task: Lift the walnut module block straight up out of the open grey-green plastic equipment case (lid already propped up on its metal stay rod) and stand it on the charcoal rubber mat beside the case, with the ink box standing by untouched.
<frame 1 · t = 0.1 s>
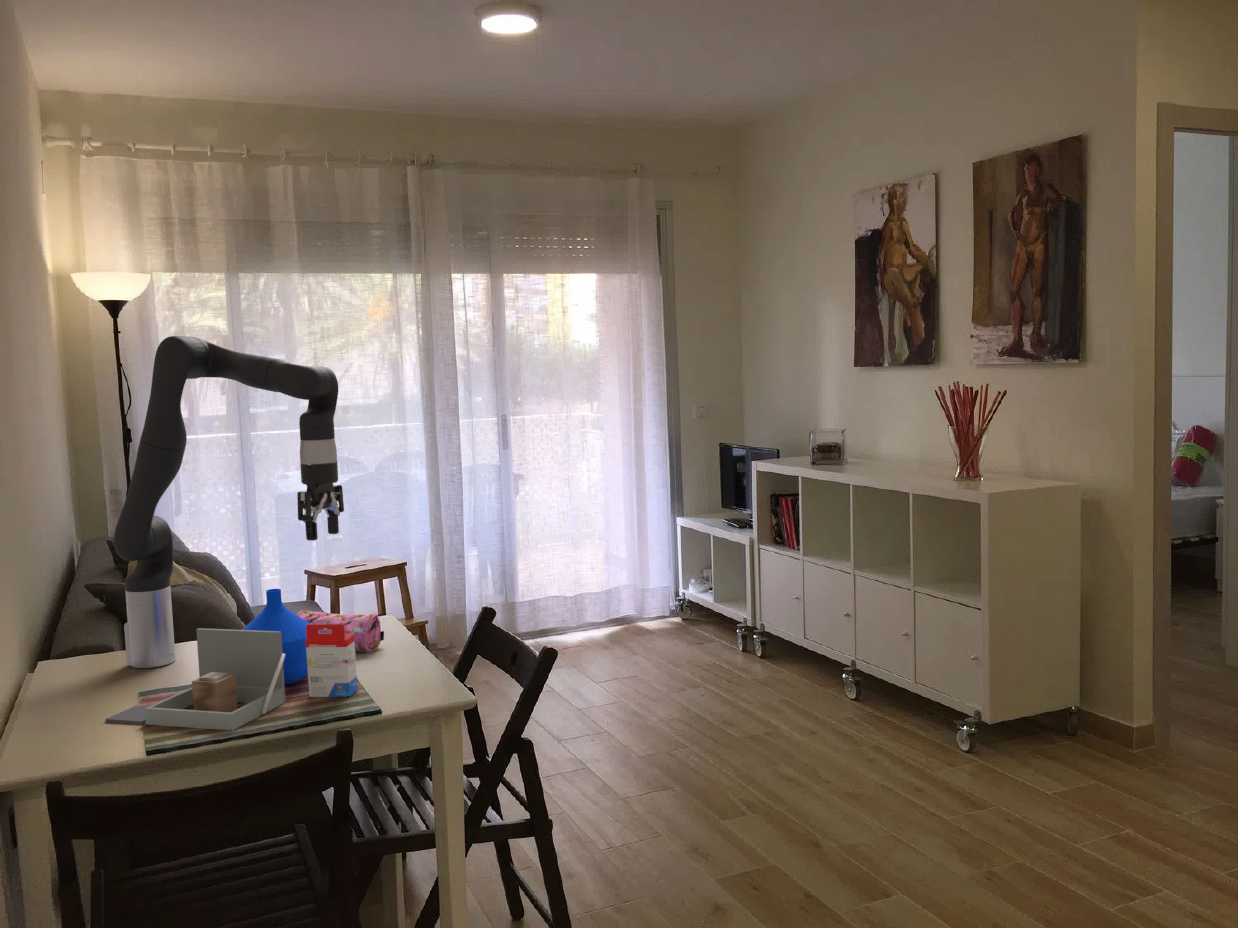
hand: (322, 536, 217), 29 cm above the table, fingers open, 8 cm apart
blue funnel: (279, 680, 215), on the table
module: (216, 713, 194), resting in case
ink box: (333, 694, 204), on the table
pencil case: (337, 650, 239), on the table
mat: (138, 716, 194), on the table
case: (216, 713, 194), on the table
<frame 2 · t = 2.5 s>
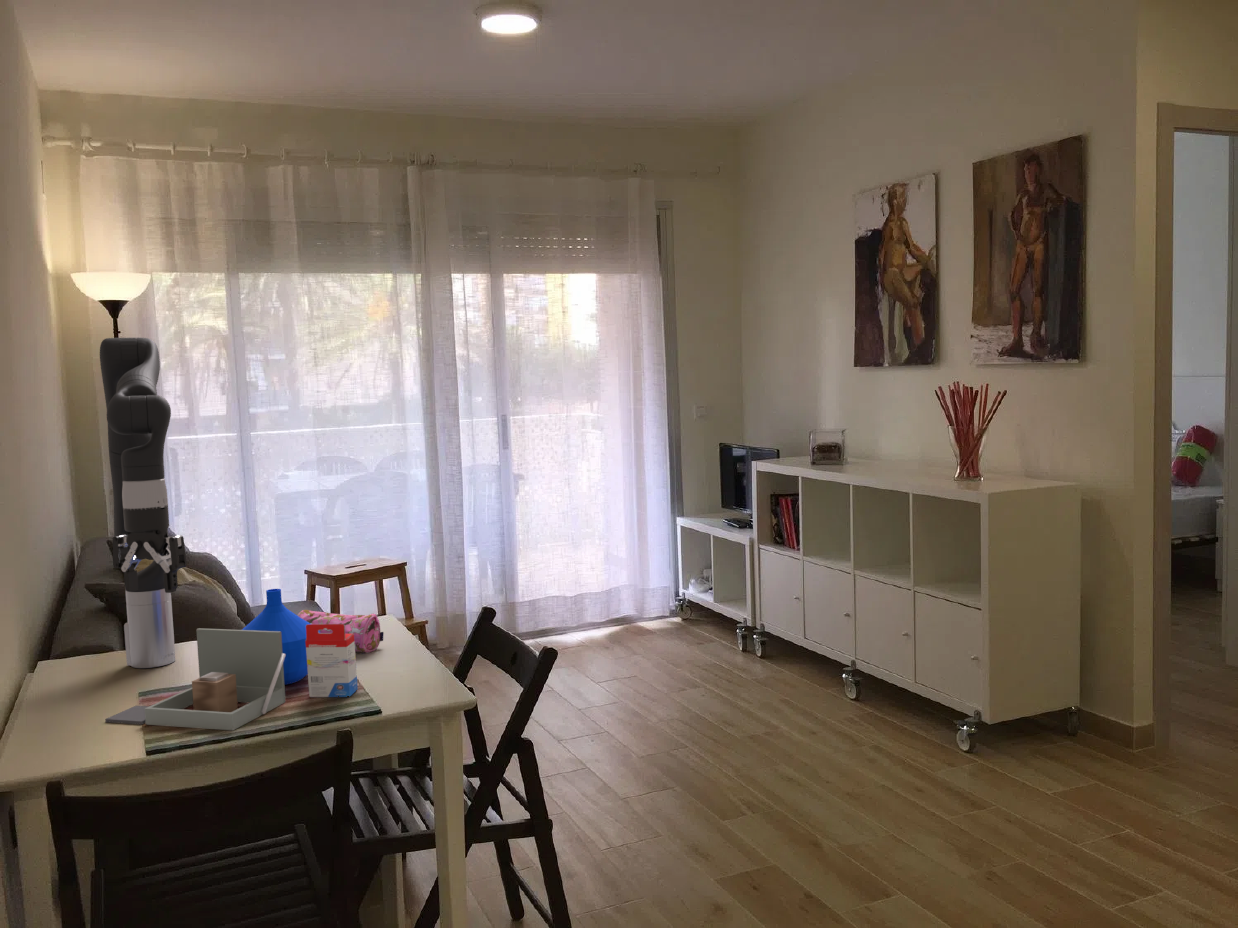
hand: (151, 591, 189), 24 cm above the table, fingers open, 8 cm apart
nothing on the table moved.
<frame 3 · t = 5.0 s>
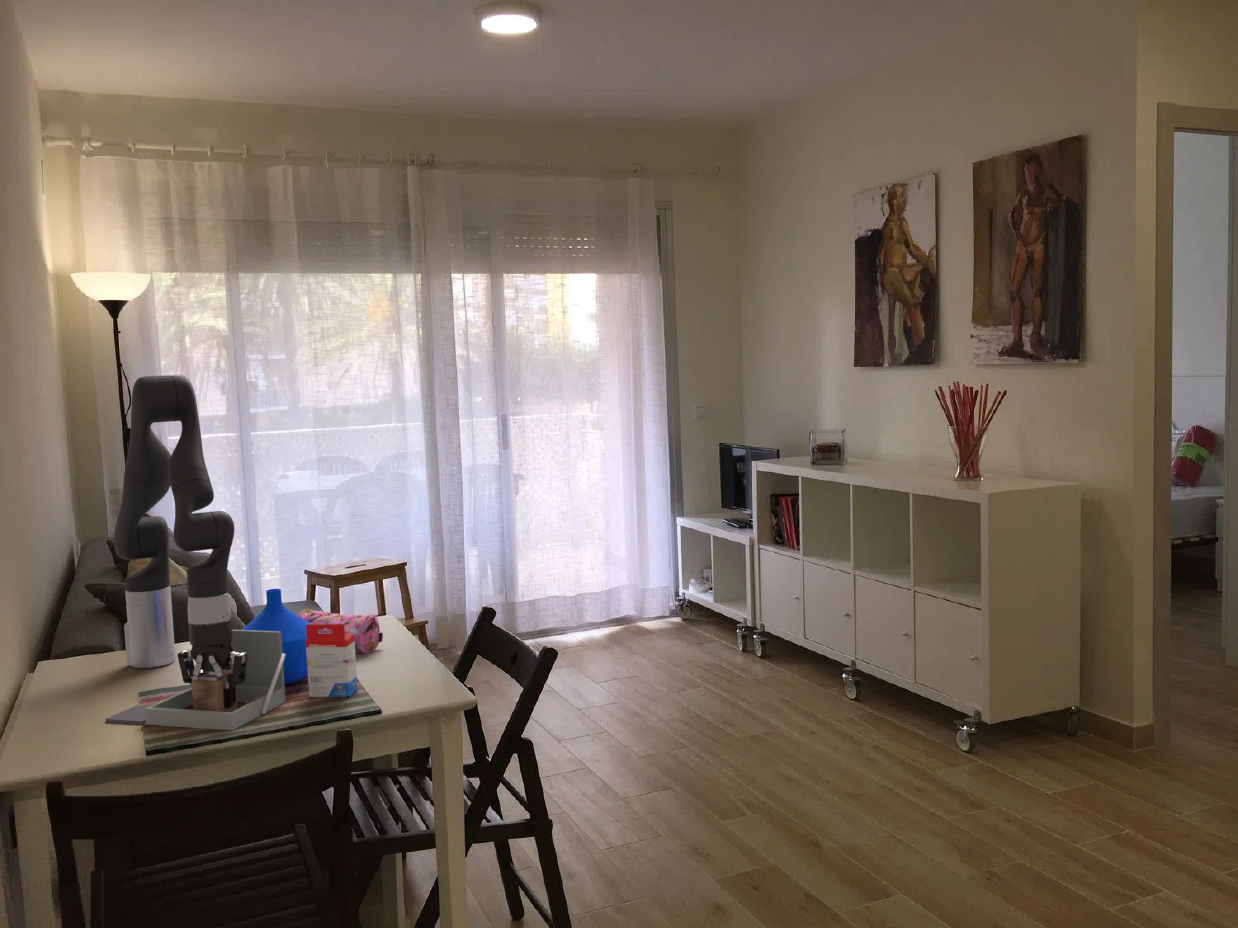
hand: (215, 705, 194), 2 cm above the table, fingers closed on module, 5 cm apart
module: (216, 713, 194), resting in case, touching gripper
everything else where it was.
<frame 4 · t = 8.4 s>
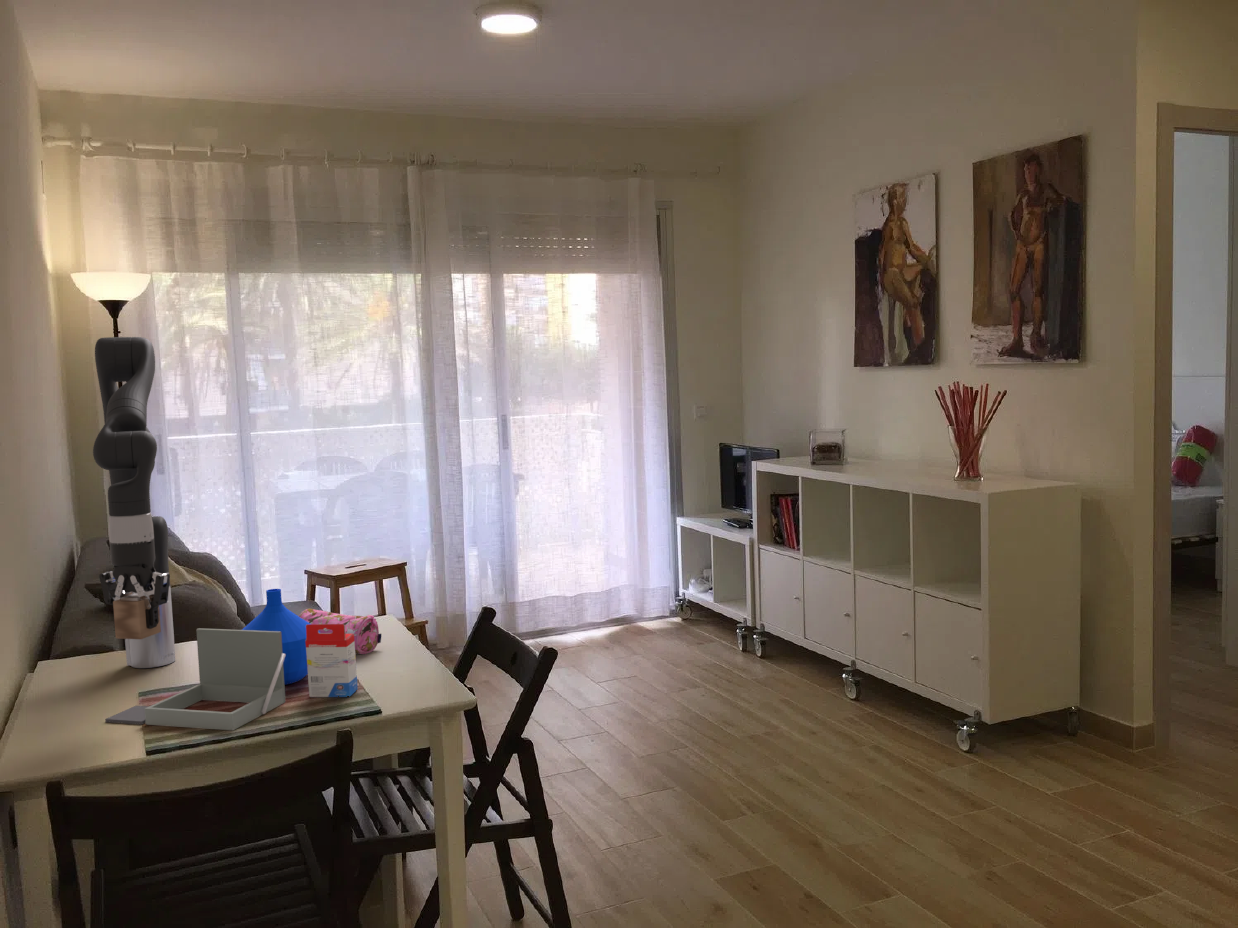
hand: (138, 626, 192), 17 cm above the table, fingers closed on module, 5 cm apart
module: (138, 635, 193), point 16 cm above the table, touching gripper
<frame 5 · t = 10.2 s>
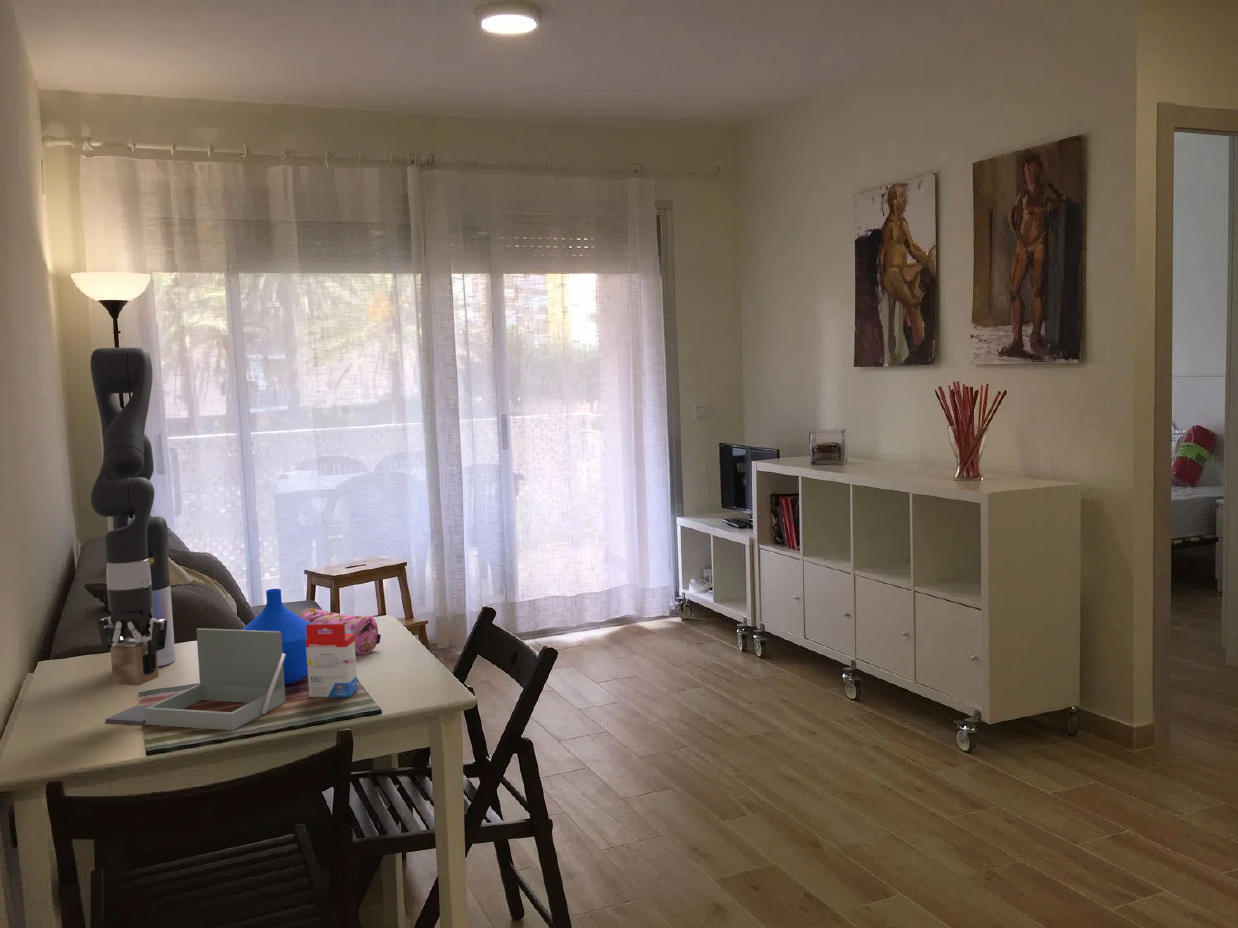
hand: (135, 672, 193), 8 cm above the table, fingers closed on module, 5 cm apart
module: (136, 680, 193), point 7 cm above the table, touching gripper
when the fingers open (3 cm above the table, at t = 11.7 s): module drops 1 cm, resting on mat.
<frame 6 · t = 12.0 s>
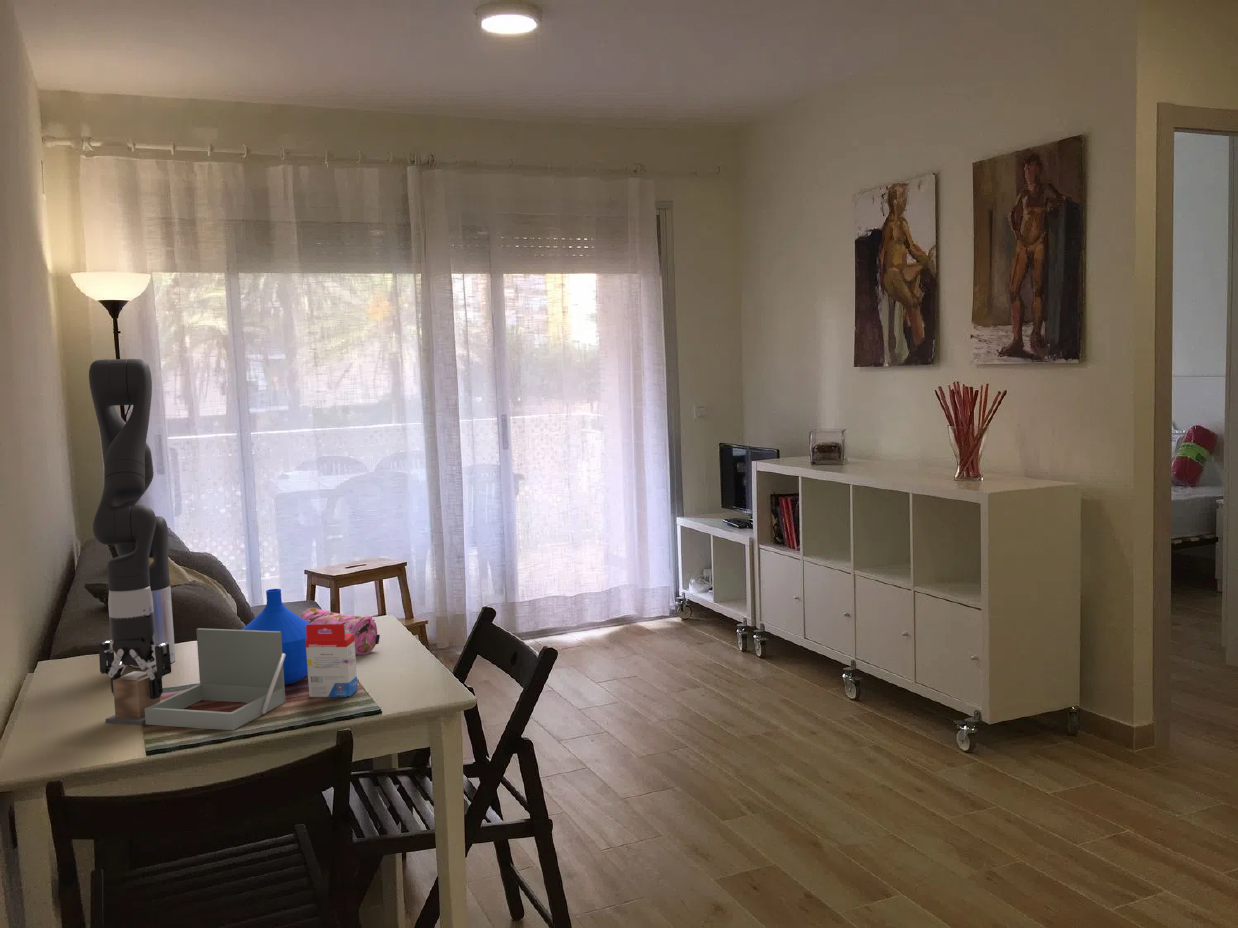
hand: (137, 696, 193), 4 cm above the table, fingers open, 8 cm apart
module: (138, 713, 194), point 1 cm above the table, touching mat
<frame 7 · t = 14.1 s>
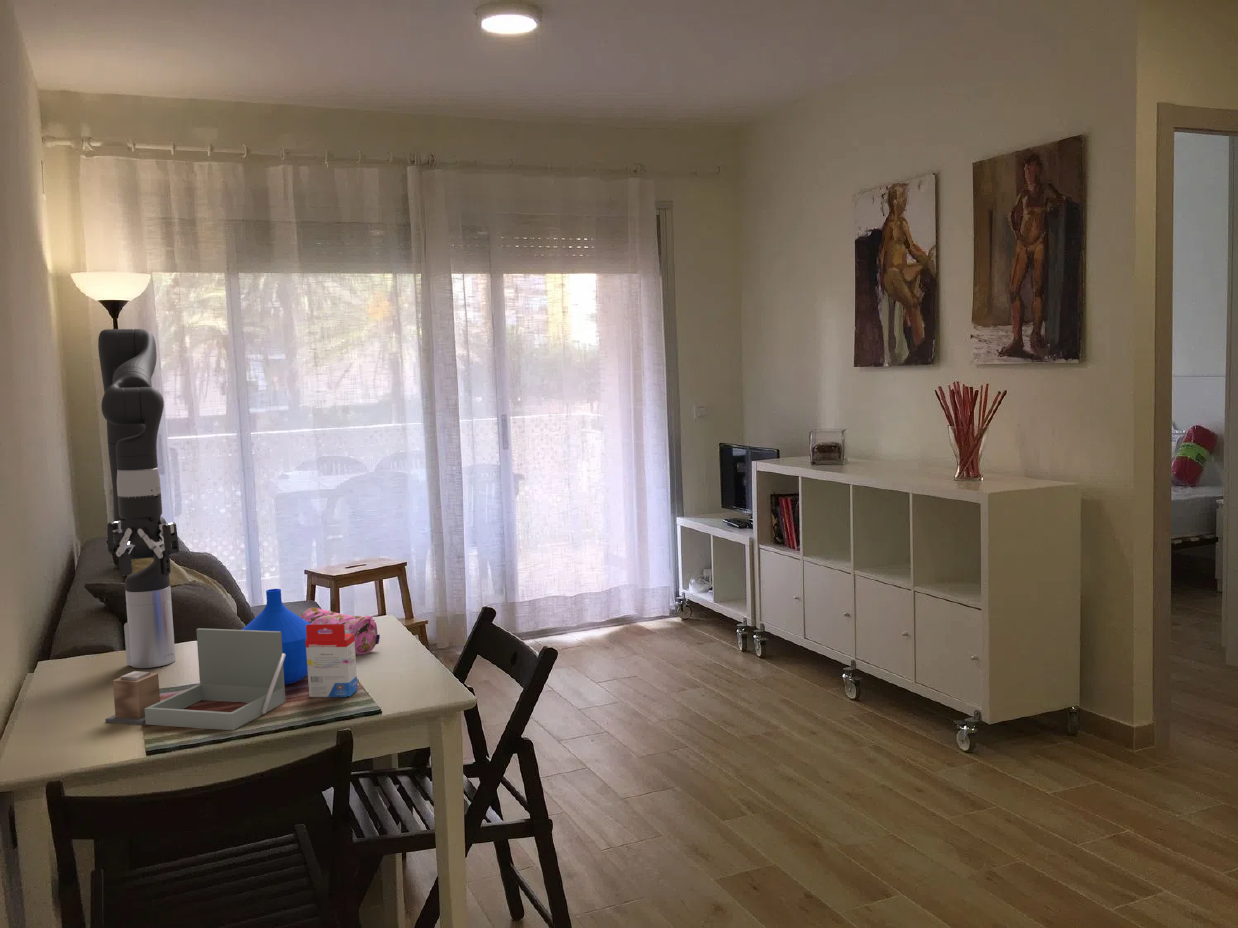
hand: (145, 575, 197), 26 cm above the table, fingers open, 8 cm apart
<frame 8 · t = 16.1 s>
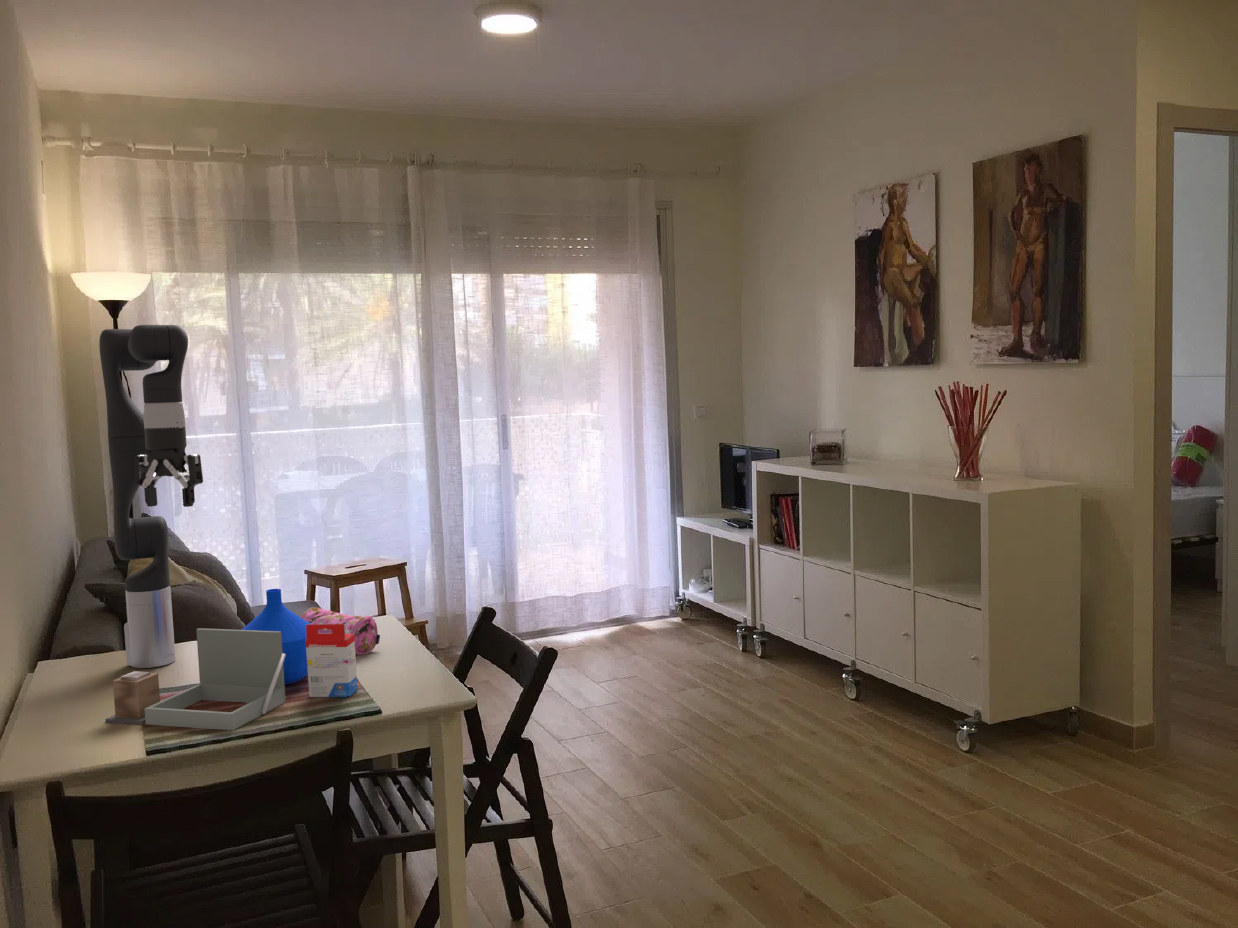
hand: (170, 506, 205), 38 cm above the table, fingers open, 8 cm apart
at the end: module 0.1 cm from the mat (horizontally); module tilted 0°; the gripper is holding nothing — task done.
